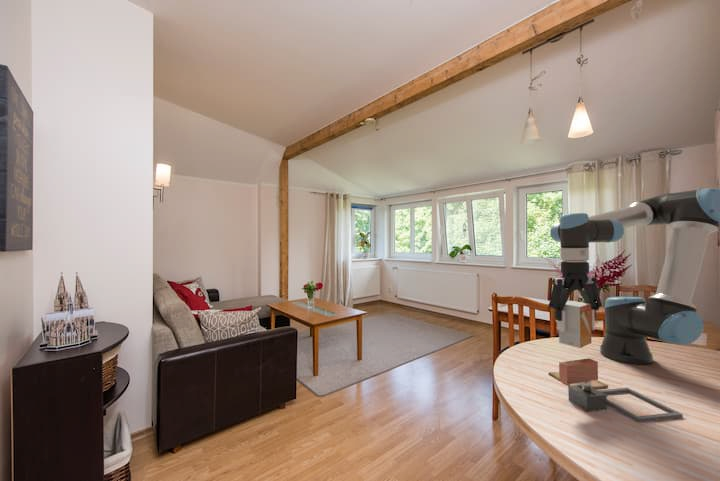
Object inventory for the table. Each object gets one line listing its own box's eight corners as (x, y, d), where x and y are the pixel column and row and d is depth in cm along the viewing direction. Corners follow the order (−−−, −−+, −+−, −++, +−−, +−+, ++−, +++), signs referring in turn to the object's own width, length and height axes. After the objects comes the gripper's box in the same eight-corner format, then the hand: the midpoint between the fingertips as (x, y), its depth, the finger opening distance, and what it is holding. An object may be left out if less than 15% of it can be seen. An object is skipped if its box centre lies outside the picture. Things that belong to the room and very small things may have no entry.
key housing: (587, 398, 87) (587, 383, 87) (606, 409, 81) (606, 394, 81) (568, 399, 86) (568, 385, 86) (586, 411, 80) (586, 396, 80)
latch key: (559, 391, 83) (559, 362, 83) (589, 386, 85) (589, 358, 85) (567, 395, 80) (567, 366, 80) (598, 390, 83) (597, 361, 83)
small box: (580, 348, 93) (580, 306, 93) (558, 343, 98) (557, 303, 98) (592, 343, 97) (591, 303, 97) (570, 338, 102) (569, 300, 102)
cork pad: (577, 371, 104) (577, 370, 104) (607, 387, 93) (607, 385, 93) (548, 374, 102) (548, 372, 102) (575, 390, 91) (575, 388, 91)
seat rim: (627, 390, 91) (627, 387, 91) (682, 417, 77) (682, 414, 77) (588, 393, 89) (588, 391, 89) (638, 422, 75) (638, 418, 75)
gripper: (552, 262, 92) (553, 335, 92) (616, 261, 95) (617, 331, 95) (534, 261, 100) (536, 328, 100) (594, 259, 102) (595, 324, 102)
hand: (575, 329), depth 97 cm, fingers closed on small box, 10 cm apart
